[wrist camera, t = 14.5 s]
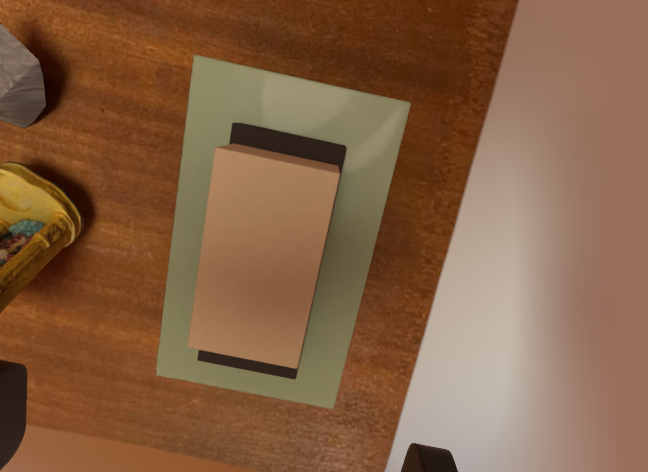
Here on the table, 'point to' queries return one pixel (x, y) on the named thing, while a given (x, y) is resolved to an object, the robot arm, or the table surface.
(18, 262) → the shrine
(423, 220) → the table surface
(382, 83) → the table surface
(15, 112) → the paper boat
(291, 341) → the board eraser
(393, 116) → the olive green lidded box
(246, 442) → the table surface
